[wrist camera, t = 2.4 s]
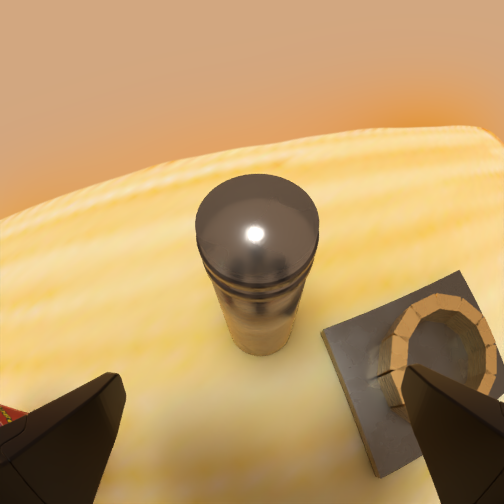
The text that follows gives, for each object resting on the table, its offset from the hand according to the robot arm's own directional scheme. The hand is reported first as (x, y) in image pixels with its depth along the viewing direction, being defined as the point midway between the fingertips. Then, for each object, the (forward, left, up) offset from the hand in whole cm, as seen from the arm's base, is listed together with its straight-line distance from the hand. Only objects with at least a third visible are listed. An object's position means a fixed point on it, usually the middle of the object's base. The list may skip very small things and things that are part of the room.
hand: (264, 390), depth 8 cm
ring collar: (+13, -2, -13) cm, 18 cm away
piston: (+2, +6, -13) cm, 14 cm away
